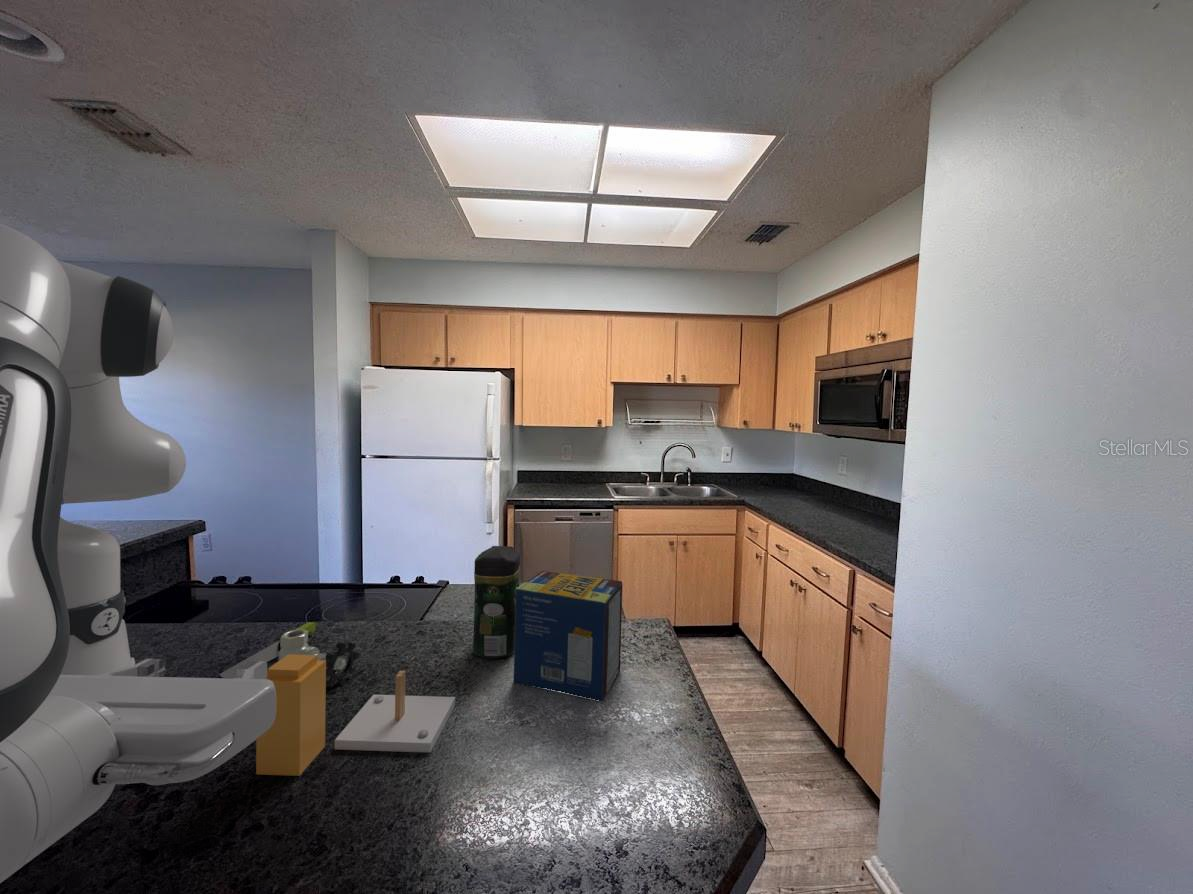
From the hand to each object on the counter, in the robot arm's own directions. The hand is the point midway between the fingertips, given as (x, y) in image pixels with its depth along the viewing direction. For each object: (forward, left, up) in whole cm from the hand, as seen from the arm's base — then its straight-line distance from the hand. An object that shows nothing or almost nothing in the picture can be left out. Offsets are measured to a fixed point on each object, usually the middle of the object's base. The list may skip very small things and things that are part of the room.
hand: (208, 667), depth 43 cm
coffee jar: (+18, +42, -18) cm, 49 cm away
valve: (-9, +31, -18) cm, 37 cm away
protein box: (+32, +33, -18) cm, 49 cm away
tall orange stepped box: (0, +12, -18) cm, 22 cm away
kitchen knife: (-18, +34, -17) cm, 42 cm away
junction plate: (+10, +19, -18) cm, 28 cm away
